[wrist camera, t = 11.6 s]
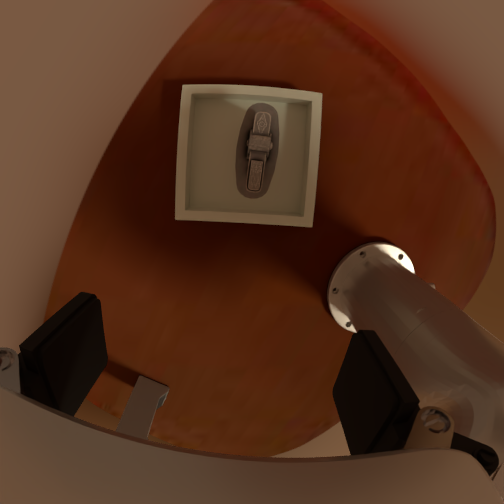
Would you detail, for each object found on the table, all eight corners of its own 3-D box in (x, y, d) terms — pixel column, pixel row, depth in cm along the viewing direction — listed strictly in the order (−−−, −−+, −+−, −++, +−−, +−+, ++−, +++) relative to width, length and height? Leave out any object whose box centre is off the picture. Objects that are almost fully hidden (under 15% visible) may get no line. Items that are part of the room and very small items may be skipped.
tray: (314, 100, 29) (322, 93, 25) (305, 220, 33) (312, 227, 29) (189, 92, 28) (182, 84, 25) (182, 214, 32) (175, 219, 29)
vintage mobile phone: (164, 400, 40) (127, 535, 16) (135, 388, 40) (85, 518, 16) (170, 386, 39) (131, 530, 16) (140, 373, 39) (85, 512, 15)
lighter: (243, 115, 28) (242, 92, 19) (275, 119, 28) (289, 99, 19) (233, 189, 30) (228, 199, 21) (265, 193, 31) (274, 205, 21)
